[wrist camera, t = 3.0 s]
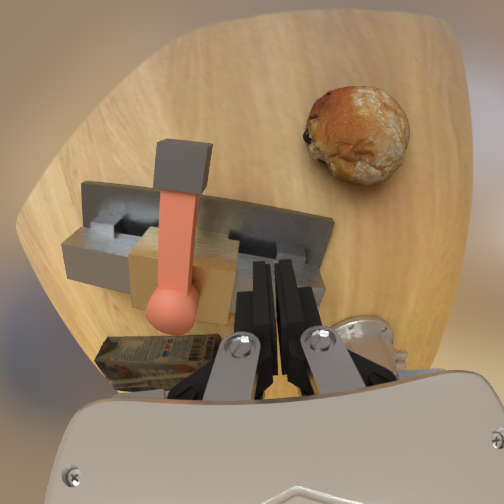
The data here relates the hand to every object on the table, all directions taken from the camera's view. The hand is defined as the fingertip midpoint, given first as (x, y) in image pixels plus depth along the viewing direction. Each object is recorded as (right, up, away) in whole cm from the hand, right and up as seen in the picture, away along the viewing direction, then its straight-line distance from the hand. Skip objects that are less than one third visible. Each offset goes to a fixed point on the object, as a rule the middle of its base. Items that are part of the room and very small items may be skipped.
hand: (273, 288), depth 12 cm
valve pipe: (-7, +2, +19) cm, 20 cm away
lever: (-6, +3, +9) cm, 11 cm away
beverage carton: (-14, -14, +28) cm, 34 cm away
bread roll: (+9, +14, +13) cm, 21 cm away
